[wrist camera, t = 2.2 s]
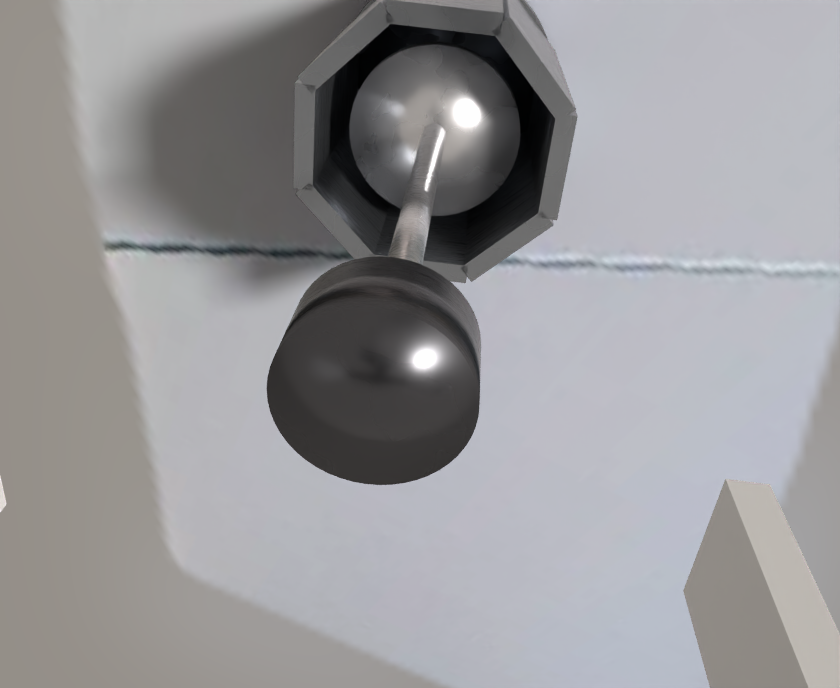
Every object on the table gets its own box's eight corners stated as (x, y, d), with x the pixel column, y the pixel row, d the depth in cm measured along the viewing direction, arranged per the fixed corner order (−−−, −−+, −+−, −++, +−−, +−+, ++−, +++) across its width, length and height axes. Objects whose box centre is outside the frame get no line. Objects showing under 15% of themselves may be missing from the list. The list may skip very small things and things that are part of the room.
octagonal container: (348, -48, 40) (290, -18, 28) (571, -22, 39) (602, 18, 28) (335, 219, 47) (286, 325, 36) (524, 242, 47) (534, 356, 35)
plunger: (356, 31, 32) (191, 217, 15) (532, 52, 32) (580, 265, 14) (348, 199, 36) (207, 510, 18) (506, 218, 36) (518, 550, 18)
